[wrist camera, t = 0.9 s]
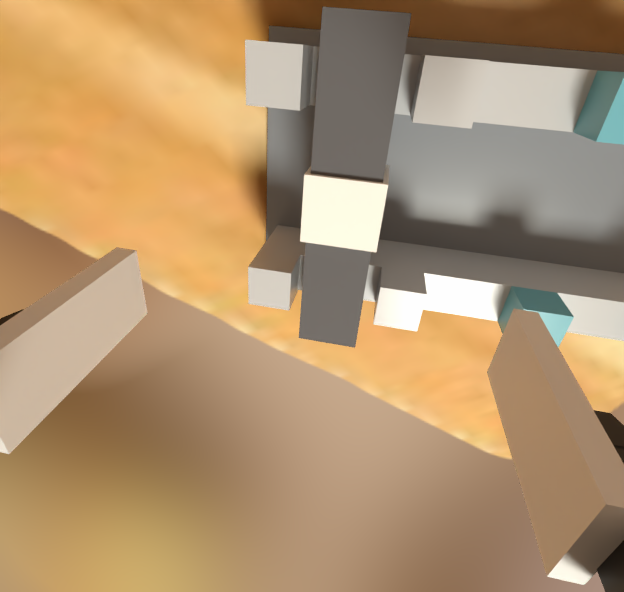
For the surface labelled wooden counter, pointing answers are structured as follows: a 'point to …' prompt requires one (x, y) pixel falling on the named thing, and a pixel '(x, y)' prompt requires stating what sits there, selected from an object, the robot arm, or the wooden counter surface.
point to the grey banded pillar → (348, 165)
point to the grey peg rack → (466, 182)
